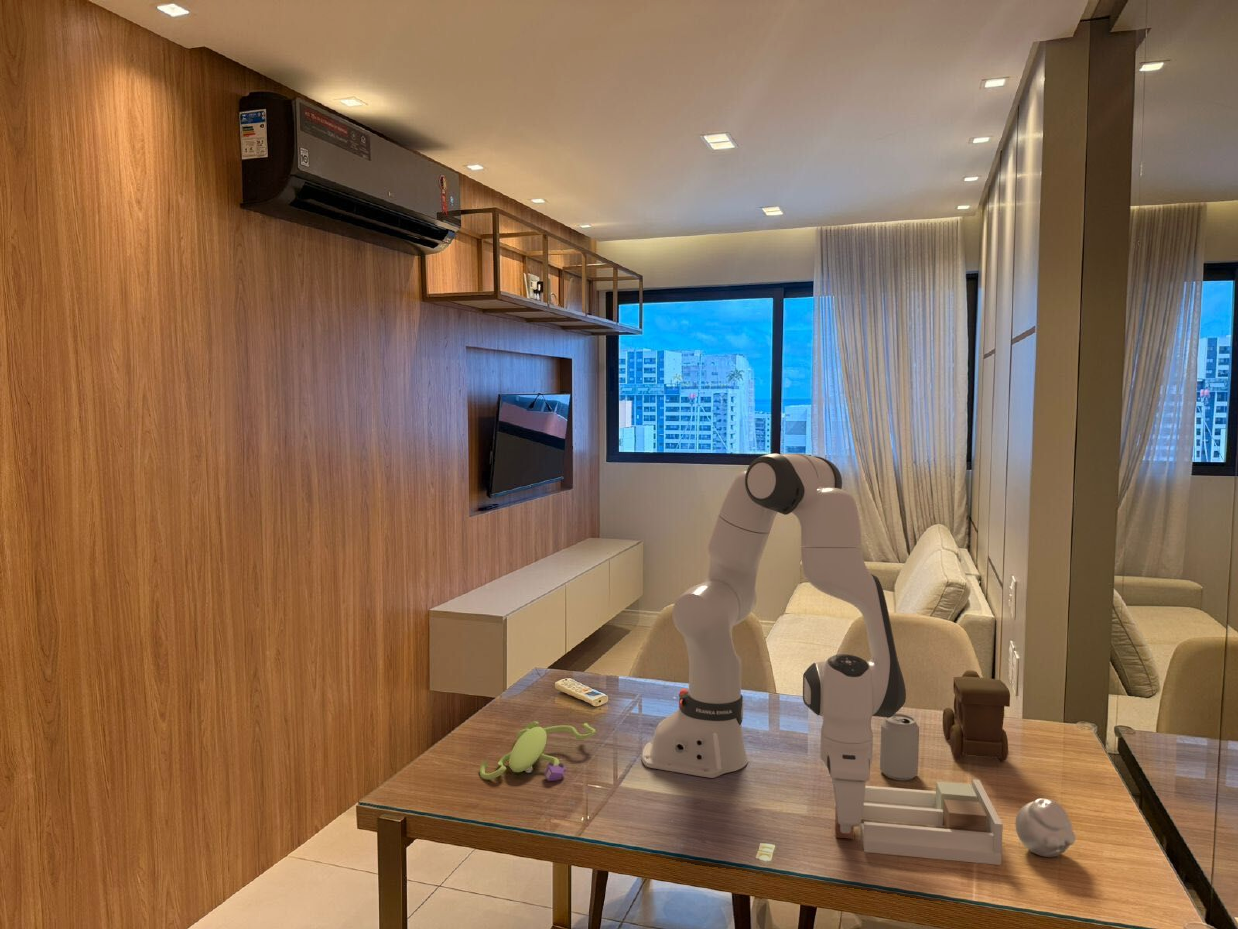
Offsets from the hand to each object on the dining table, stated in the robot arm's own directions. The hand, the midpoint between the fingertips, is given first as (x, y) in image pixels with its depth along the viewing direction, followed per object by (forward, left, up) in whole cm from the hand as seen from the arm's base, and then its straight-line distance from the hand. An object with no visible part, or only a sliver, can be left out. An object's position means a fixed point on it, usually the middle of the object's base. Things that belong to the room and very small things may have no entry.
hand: (844, 825), depth 153 cm
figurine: (-62, +22, -3) cm, 66 cm away
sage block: (+20, +7, 0) cm, 21 cm away
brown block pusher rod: (+11, 0, -2) cm, 11 cm away
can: (+13, +28, -2) cm, 31 cm away
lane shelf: (+14, +4, -2) cm, 15 cm away
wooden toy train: (+31, +44, -2) cm, 54 cm away
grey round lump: (+33, 0, -2) cm, 33 cm away
